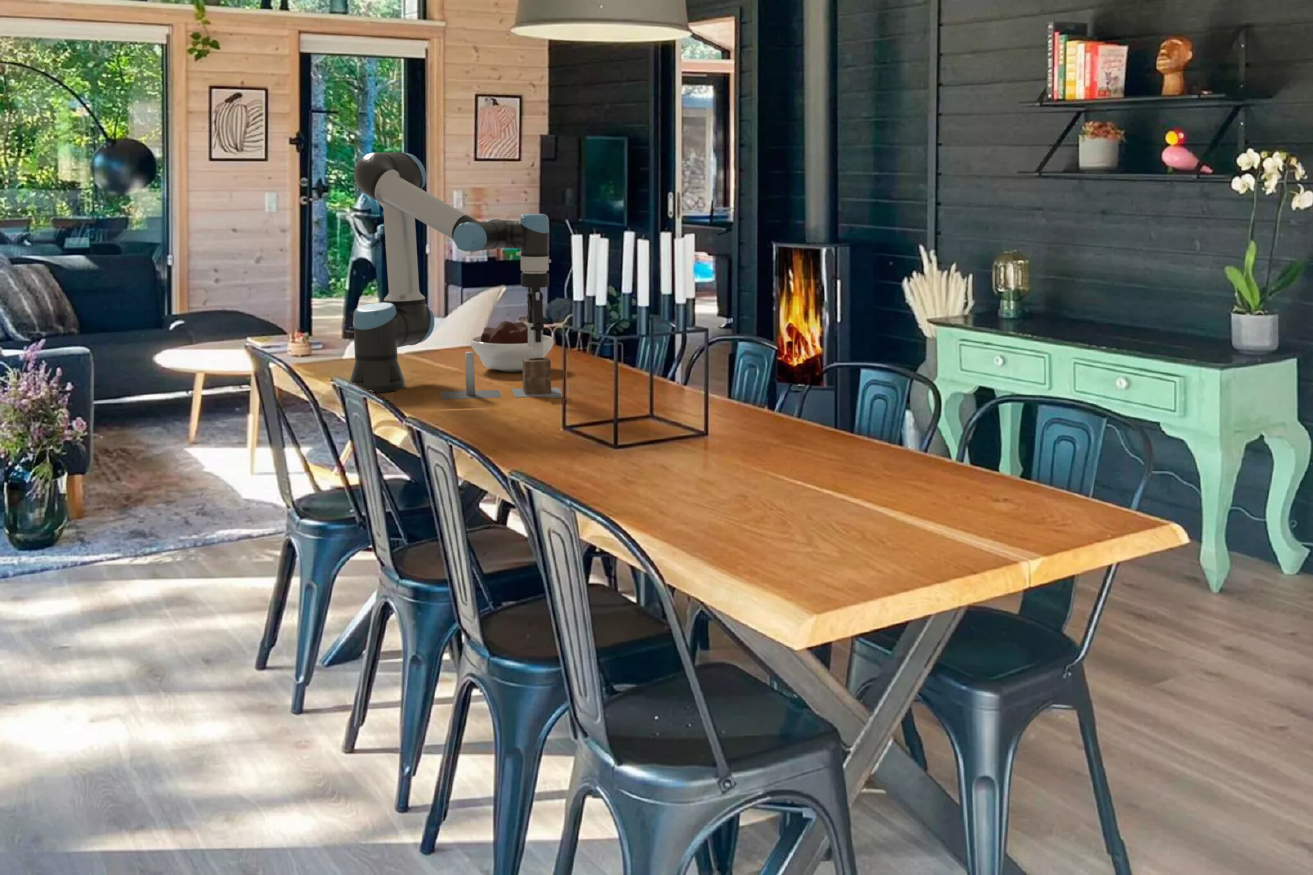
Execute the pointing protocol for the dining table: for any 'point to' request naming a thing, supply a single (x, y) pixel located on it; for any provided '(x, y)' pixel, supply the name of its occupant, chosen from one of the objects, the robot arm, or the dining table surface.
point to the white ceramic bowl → (507, 346)
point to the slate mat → (554, 394)
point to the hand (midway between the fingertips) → (535, 350)
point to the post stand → (470, 384)
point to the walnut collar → (536, 375)
